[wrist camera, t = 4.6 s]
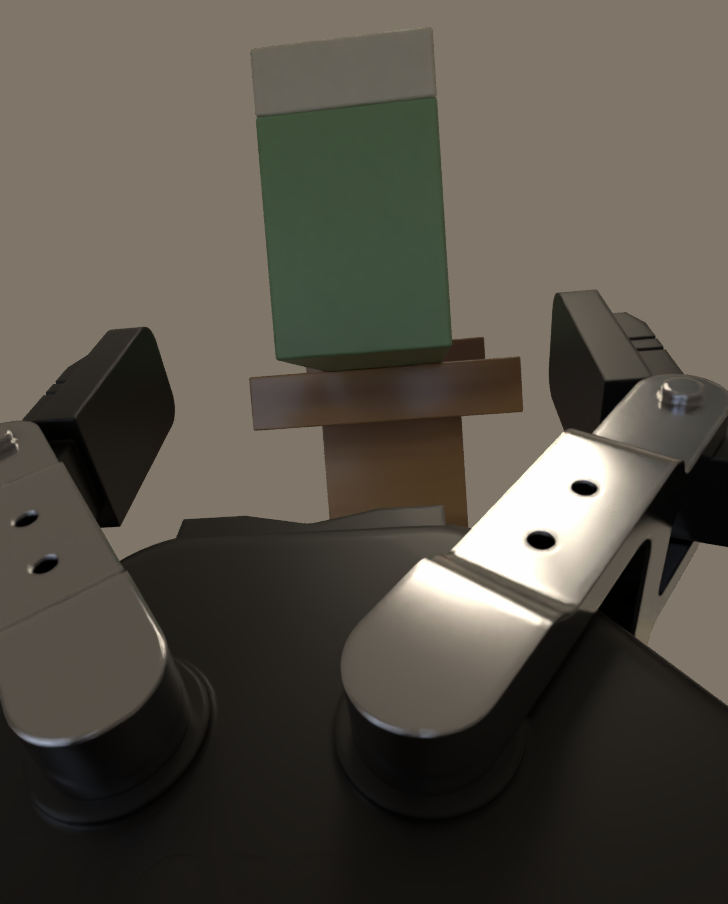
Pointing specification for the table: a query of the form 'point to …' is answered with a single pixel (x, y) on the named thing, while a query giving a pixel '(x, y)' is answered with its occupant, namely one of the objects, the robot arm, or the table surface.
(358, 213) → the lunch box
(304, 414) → the plant stand
